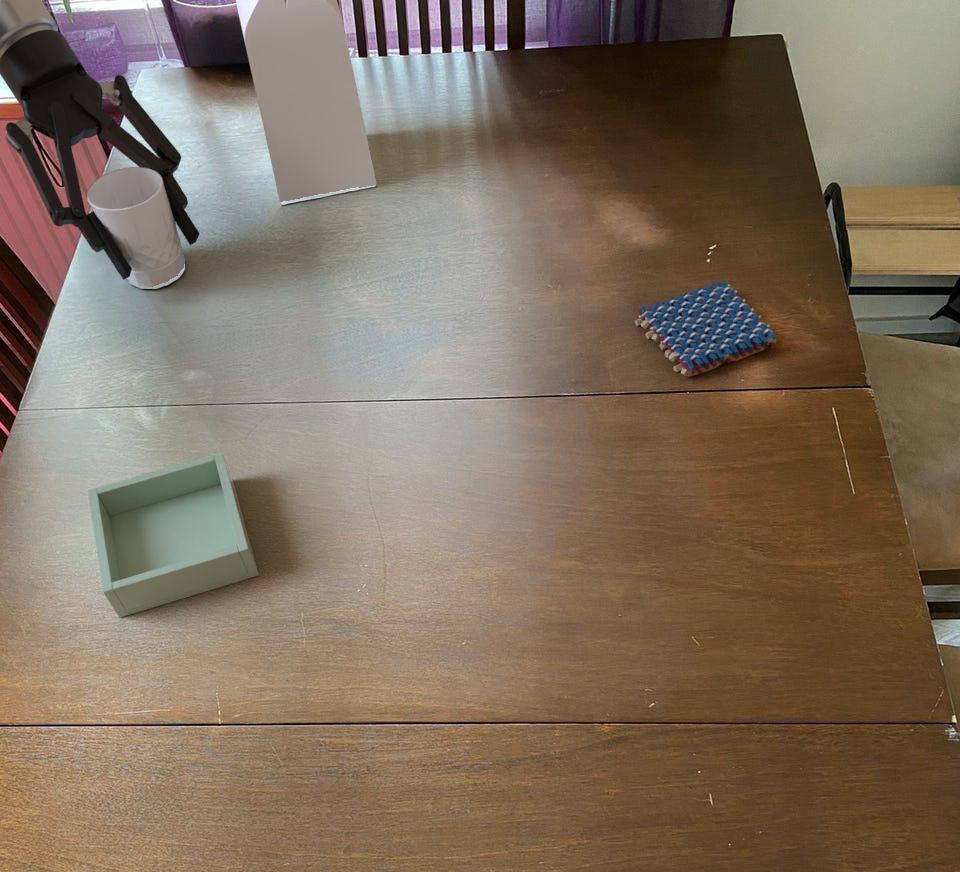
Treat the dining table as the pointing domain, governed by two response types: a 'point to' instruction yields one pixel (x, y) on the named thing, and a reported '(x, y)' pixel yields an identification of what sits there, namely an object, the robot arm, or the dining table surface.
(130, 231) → the white cup
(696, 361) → the woven mat
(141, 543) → the socket
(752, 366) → the dining table surface
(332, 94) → the milk
